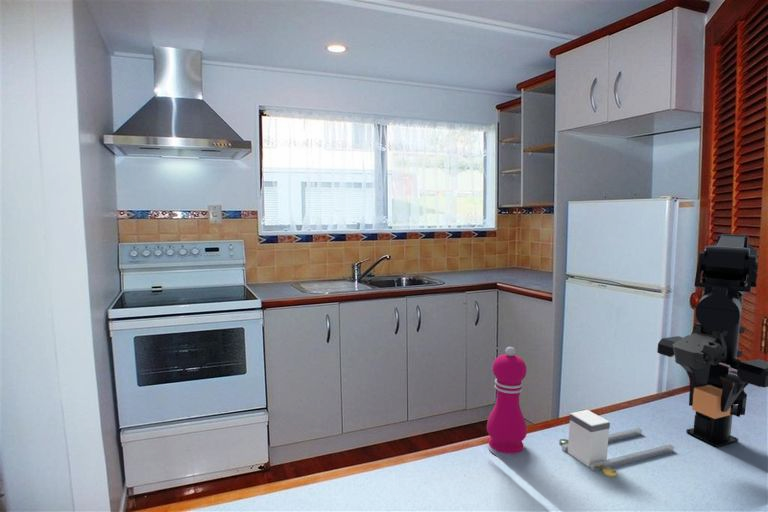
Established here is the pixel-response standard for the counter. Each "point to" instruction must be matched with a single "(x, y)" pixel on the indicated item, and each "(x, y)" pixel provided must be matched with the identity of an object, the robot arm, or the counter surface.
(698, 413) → the robot arm
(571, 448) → the plate
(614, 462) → the panel
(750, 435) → the counter surface
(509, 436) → the pepper mill
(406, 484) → the counter surface
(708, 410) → the orange cube
